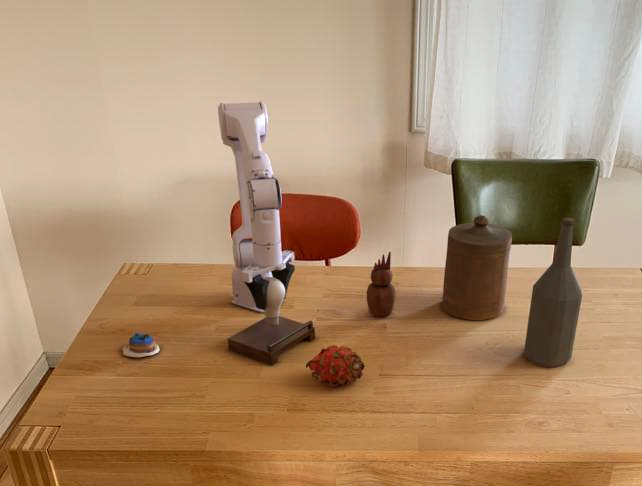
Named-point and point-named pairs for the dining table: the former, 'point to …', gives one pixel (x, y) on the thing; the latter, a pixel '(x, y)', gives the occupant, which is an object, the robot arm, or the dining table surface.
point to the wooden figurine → (381, 289)
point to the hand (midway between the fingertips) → (271, 303)
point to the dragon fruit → (337, 365)
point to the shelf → (270, 339)
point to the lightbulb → (274, 300)
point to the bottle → (554, 307)
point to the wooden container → (476, 270)
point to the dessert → (140, 346)
